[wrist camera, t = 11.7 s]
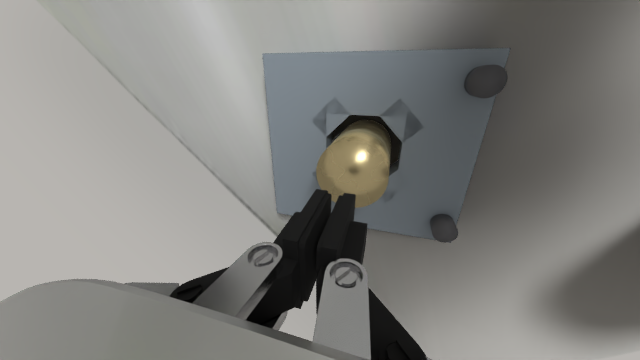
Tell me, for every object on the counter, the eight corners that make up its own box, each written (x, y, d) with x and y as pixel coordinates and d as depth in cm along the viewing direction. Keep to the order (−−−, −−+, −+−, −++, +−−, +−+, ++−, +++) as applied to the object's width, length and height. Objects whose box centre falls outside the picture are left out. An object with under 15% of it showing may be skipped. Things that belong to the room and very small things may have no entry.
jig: (495, 51, 17) (522, 45, 14) (445, 227, 24) (454, 253, 20) (275, 55, 22) (252, 52, 18) (286, 202, 28) (270, 220, 25)
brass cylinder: (394, 121, 21) (393, 144, 14) (387, 171, 23) (383, 213, 16) (341, 117, 22) (316, 137, 15) (339, 165, 24) (316, 201, 17)
